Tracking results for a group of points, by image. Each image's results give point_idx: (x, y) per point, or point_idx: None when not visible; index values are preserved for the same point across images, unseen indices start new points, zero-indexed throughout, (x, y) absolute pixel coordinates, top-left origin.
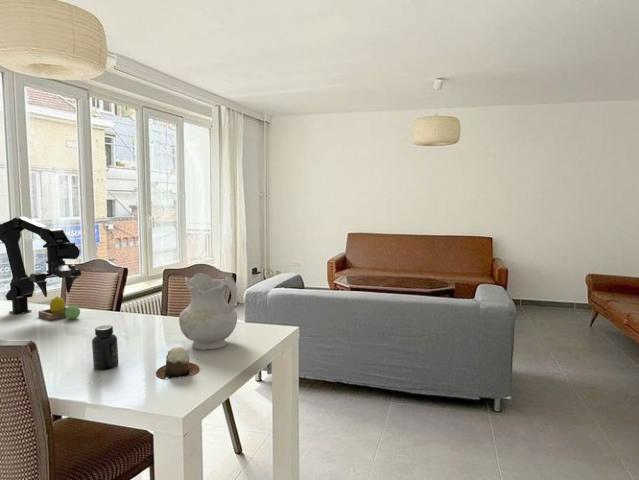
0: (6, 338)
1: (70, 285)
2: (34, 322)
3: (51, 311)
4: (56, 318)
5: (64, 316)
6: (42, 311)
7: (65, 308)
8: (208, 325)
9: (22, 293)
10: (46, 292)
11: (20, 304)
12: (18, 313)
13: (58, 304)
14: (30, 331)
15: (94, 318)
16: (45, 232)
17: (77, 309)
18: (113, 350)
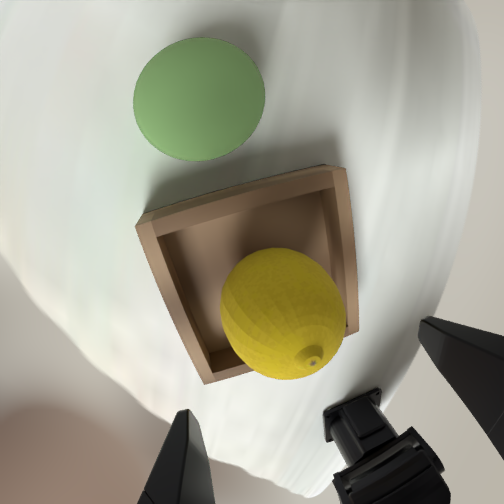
0: (476, 29)
1: (162, 490)
2: (394, 194)
3: None
4: (294, 171)
5: (237, 187)
6: (349, 310)
7: (200, 345)
8: None
9: (408, 454)
10: (458, 335)
11: (383, 420)
12: (372, 392)
13: (295, 266)
14: (428, 33)
15: (76, 44)
16: None
17: (164, 48)
18: None
